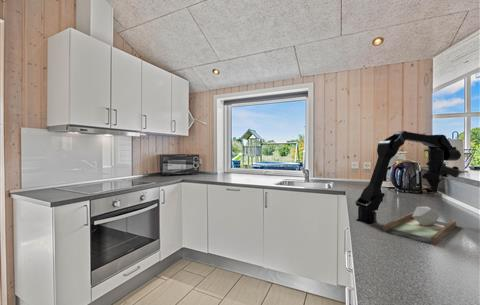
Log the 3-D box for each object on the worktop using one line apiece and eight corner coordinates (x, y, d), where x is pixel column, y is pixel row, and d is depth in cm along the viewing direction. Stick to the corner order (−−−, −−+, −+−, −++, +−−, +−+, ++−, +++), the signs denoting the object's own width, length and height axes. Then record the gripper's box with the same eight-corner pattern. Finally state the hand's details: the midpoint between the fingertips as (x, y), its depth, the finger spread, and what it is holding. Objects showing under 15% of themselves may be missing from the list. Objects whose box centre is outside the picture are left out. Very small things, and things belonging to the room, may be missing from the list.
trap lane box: (383, 231, 88) (383, 225, 88) (411, 216, 108) (411, 212, 108) (434, 245, 75) (434, 238, 75) (455, 225, 95) (455, 220, 95)
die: (440, 231, 89) (446, 210, 92) (420, 219, 91) (426, 200, 94) (424, 231, 97) (429, 212, 100) (405, 220, 98) (411, 202, 101)
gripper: (454, 161, 92) (454, 198, 93) (463, 160, 103) (462, 193, 104) (421, 160, 102) (421, 193, 102) (432, 160, 112) (432, 189, 113)
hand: (435, 192), depth 105 cm, fingers closed
